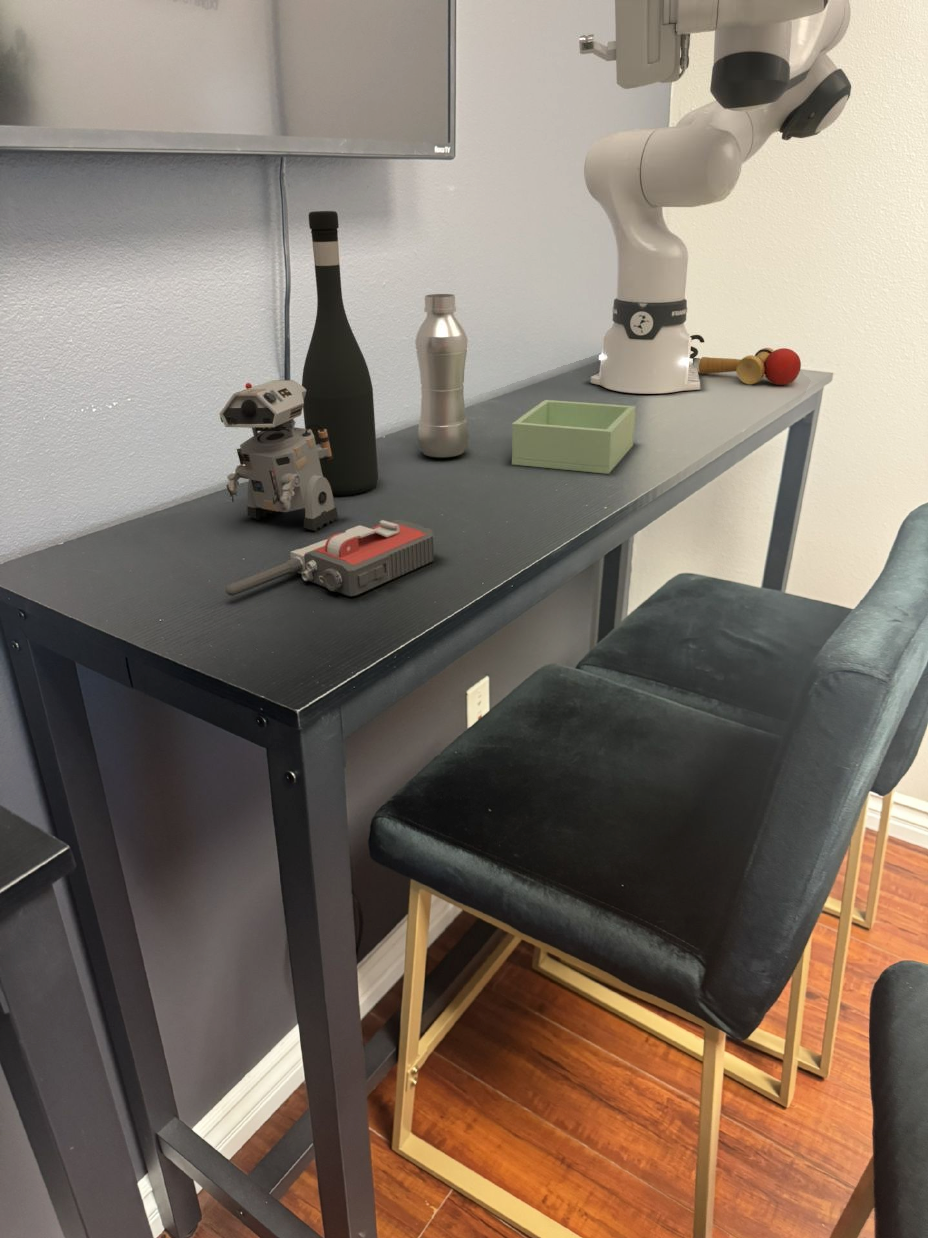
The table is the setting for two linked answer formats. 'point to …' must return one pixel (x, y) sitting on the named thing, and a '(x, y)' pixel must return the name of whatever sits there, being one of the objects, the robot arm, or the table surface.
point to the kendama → (757, 366)
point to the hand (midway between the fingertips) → (577, 4)
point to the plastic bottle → (442, 379)
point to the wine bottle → (338, 374)
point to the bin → (573, 436)
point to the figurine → (280, 454)
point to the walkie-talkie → (354, 558)
